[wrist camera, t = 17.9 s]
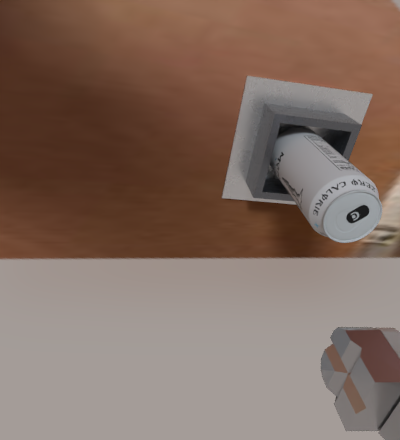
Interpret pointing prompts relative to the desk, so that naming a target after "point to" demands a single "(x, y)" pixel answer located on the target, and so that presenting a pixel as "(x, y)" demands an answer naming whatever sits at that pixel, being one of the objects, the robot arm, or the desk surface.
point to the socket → (281, 121)
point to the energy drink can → (326, 186)
